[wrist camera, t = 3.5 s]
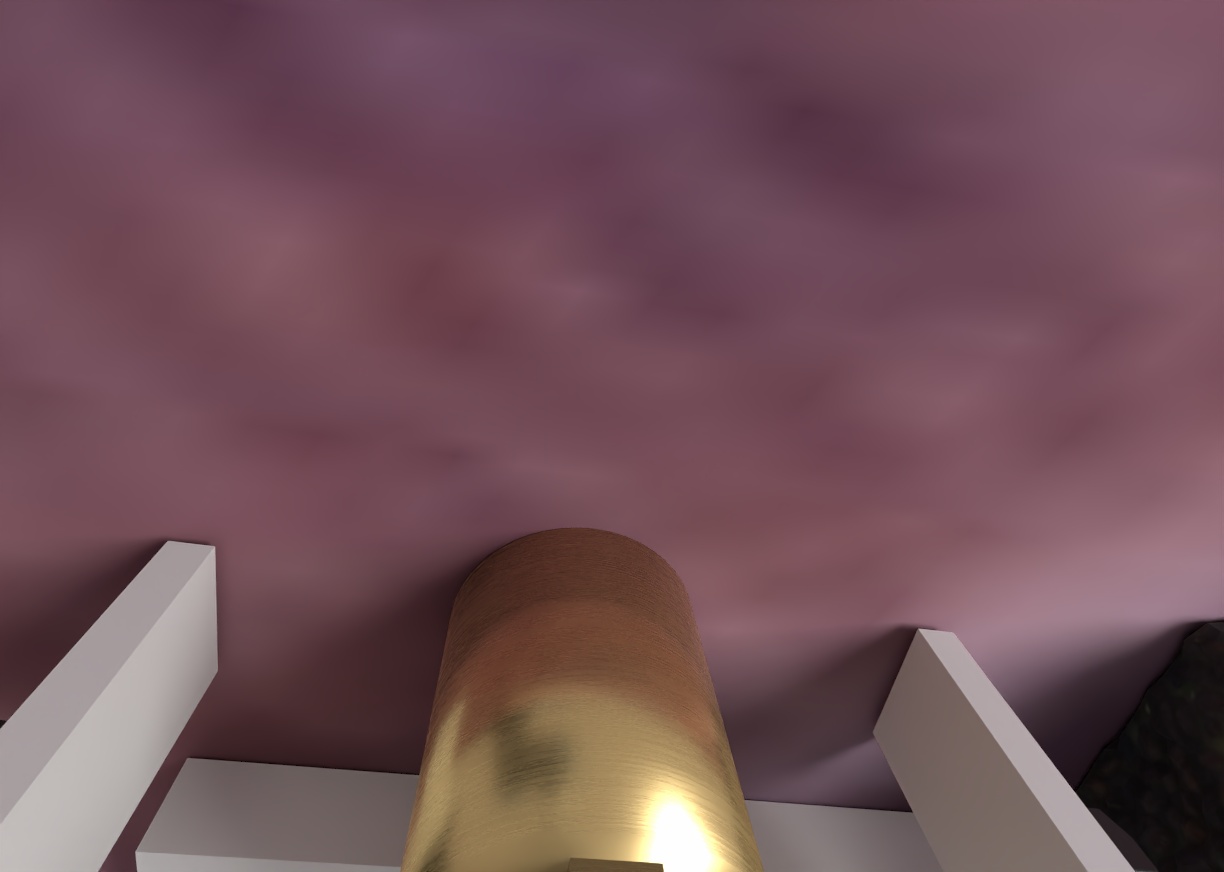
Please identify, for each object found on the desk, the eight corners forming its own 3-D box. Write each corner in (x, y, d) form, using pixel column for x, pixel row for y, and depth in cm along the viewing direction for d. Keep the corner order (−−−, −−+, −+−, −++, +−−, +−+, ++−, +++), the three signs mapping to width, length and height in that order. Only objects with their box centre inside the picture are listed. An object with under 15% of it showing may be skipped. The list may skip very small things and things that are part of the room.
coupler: (463, 512, 13) (385, 876, 7) (718, 544, 13) (852, 903, 7) (437, 712, 15) (358, 1140, 9) (664, 732, 15) (736, 1142, 9)
